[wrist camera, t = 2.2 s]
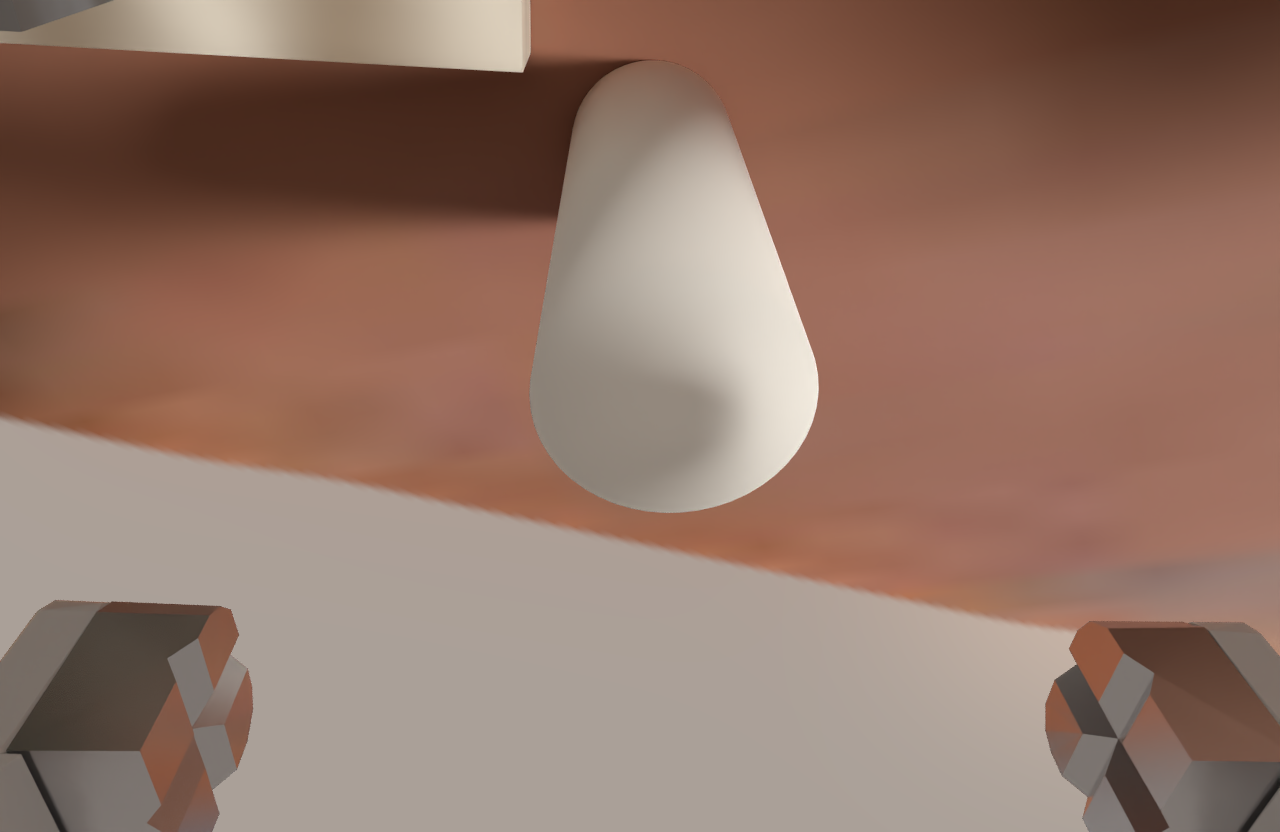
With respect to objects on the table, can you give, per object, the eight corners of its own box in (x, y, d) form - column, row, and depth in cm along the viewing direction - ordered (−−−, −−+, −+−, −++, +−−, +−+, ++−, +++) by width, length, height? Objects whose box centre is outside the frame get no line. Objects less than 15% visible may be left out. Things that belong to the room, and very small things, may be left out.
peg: (740, 65, 21) (842, 274, 11) (722, 224, 24) (794, 517, 14) (573, 54, 21) (527, 260, 11) (570, 216, 23) (530, 507, 13)
